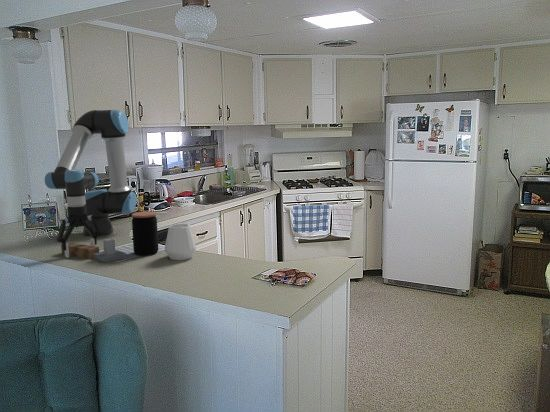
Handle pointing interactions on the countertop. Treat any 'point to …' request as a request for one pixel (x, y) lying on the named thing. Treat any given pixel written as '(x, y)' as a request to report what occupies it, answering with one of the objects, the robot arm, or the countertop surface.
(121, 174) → the robot arm
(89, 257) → the walnut bar
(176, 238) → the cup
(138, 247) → the coffee jar
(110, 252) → the slate fulcrum
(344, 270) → the countertop surface
